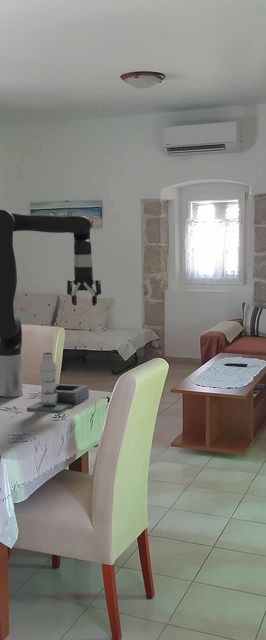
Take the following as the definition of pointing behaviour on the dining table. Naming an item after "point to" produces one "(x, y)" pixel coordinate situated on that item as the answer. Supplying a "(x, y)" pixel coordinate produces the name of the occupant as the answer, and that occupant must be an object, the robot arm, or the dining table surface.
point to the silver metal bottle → (48, 380)
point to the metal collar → (71, 393)
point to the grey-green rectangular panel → (49, 407)
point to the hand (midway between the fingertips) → (84, 305)
